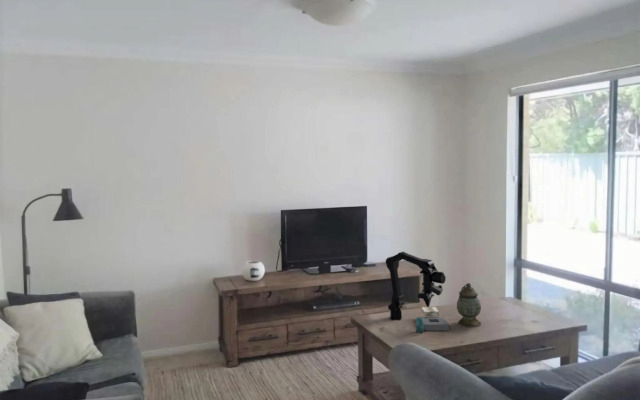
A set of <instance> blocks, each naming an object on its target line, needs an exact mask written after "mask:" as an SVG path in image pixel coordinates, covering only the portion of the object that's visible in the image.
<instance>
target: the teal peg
mask: <svg viewBox="0 0 640 400" xmlns="http://www.w3.org/2000/svg"><path fill="white" fill-rule="evenodd" d="M421 317H422V316H419V317H416V322H415V323H416V325H415V326H416V327H415V328H416V333H419V334H423V333H424V329H423V318H421Z"/></svg>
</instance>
